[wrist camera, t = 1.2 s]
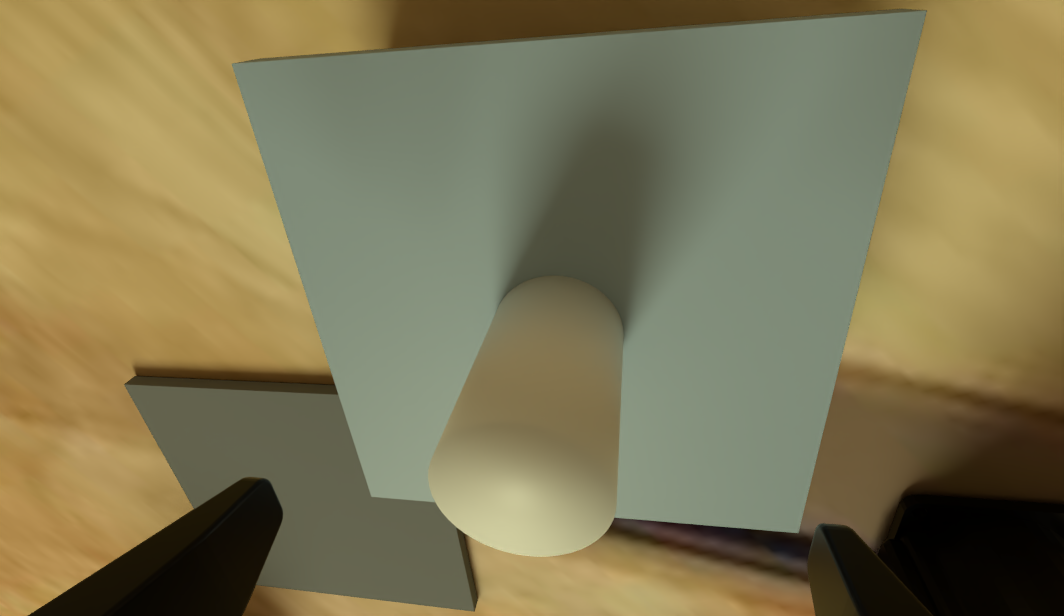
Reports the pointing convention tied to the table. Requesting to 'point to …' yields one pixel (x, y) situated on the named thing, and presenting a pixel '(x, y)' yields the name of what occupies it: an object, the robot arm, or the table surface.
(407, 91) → the lid
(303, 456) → the mat
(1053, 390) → the table surface
